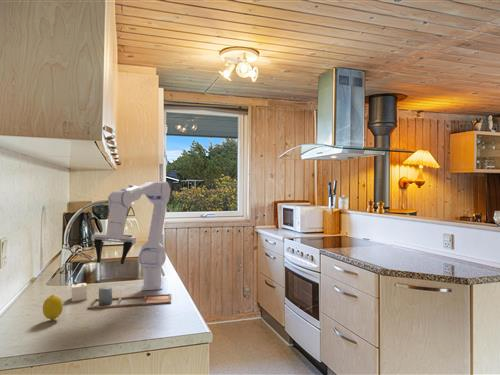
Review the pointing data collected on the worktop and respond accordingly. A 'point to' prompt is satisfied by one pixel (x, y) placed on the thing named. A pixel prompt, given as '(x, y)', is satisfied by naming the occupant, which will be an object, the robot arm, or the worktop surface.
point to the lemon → (52, 307)
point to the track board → (150, 301)
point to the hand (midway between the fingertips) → (110, 263)
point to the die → (79, 291)
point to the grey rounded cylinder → (105, 296)
